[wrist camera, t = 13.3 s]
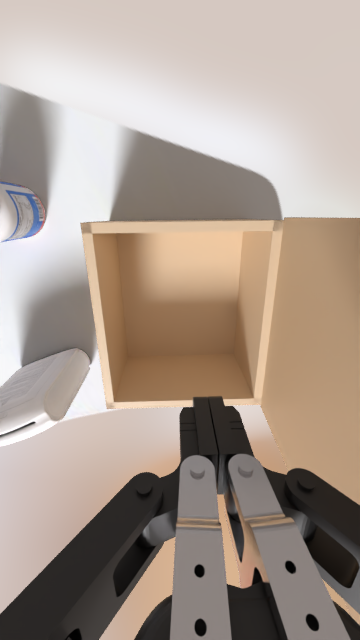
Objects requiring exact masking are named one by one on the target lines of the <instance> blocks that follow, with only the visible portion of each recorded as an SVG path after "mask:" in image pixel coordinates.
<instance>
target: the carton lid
mask: <svg viewBox="0 0 360 640" xmlns="http://www.w3.org/2000/svg"><path fill="white" fill-rule="evenodd" d="M261 408H262V411H263V413H264V415H265V417H266V420H267V422H268V425H269V427H270V429H271V431H272V434H273V436H274V438H275V441H276V443H277V446H278V448H279V450H280V452H281V455H282V457H283V460H284V462H285V464H286V467H287V469H288V471H290V470H291V469H294V468H302V469H306V470H309V471H311V472H312V473H314V474H316V475H317V476H318V477H320V478H321V479H323V480H324V481H326V482H327V483H328V484H330V485H331V486H333V487H334V488H336V489H337V490H339V491H340V492H341V493H343V494H344V495H346V496H347V497H349V498H350V499H352V500H353V501H354V502H356V503H357V504H359V505H360V218H284V224H283V232H282V240H281V248H280V256H279V264H278V272H277V280H276V288H275V296H274V304H273V311H272V319H271V327H270V335H269V343H268V351H267V359H266V367H265V375H264V383H263V391H262V398H261ZM344 602H345V604H346V607H347V609H348V611H349V614H350V616H351V617H352V618H353V619H354V620H355V621H356V622H357V623H358V624H359V625H360V614H359V613H358V612H356V611H355V610H354V609H353V608H352V607H351V606H350V605H349V604H348V603H347V602H346V601H345V600H344Z"/></svg>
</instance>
